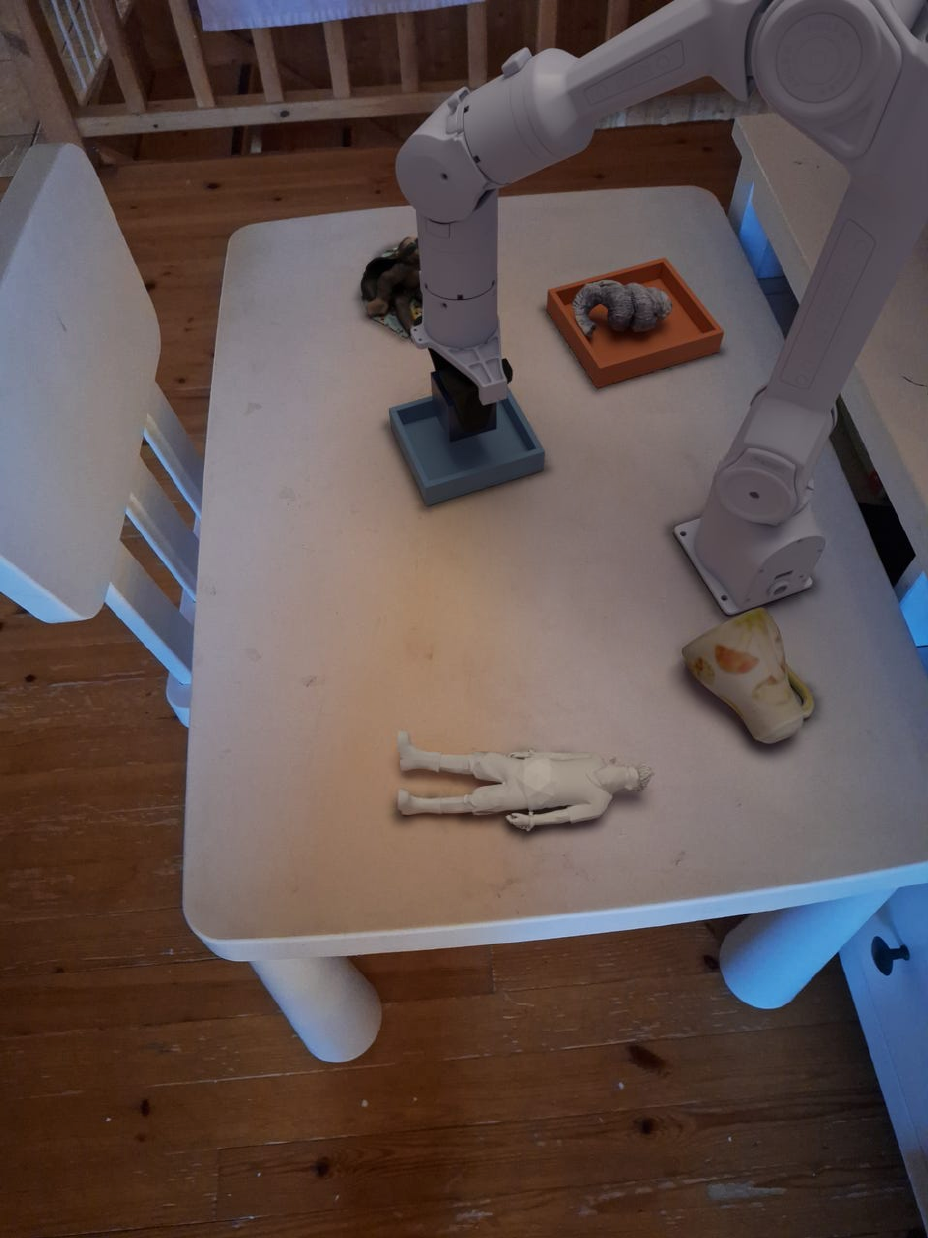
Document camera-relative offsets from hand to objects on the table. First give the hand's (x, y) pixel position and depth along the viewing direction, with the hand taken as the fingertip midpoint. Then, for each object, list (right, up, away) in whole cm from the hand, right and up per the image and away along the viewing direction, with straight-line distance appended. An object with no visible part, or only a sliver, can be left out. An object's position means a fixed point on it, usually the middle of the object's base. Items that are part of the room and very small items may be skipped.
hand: (464, 407), depth 79 cm
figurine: (+4, -31, -13) cm, 34 cm away
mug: (+22, -24, -9) cm, 34 cm away
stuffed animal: (-5, +16, +16) cm, 23 cm away
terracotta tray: (+17, +11, +12) cm, 23 cm away
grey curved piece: (+15, +11, +11) cm, 22 cm away
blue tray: (0, -3, +4) cm, 5 cm away
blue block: (0, -1, +1) cm, 1 cm away
